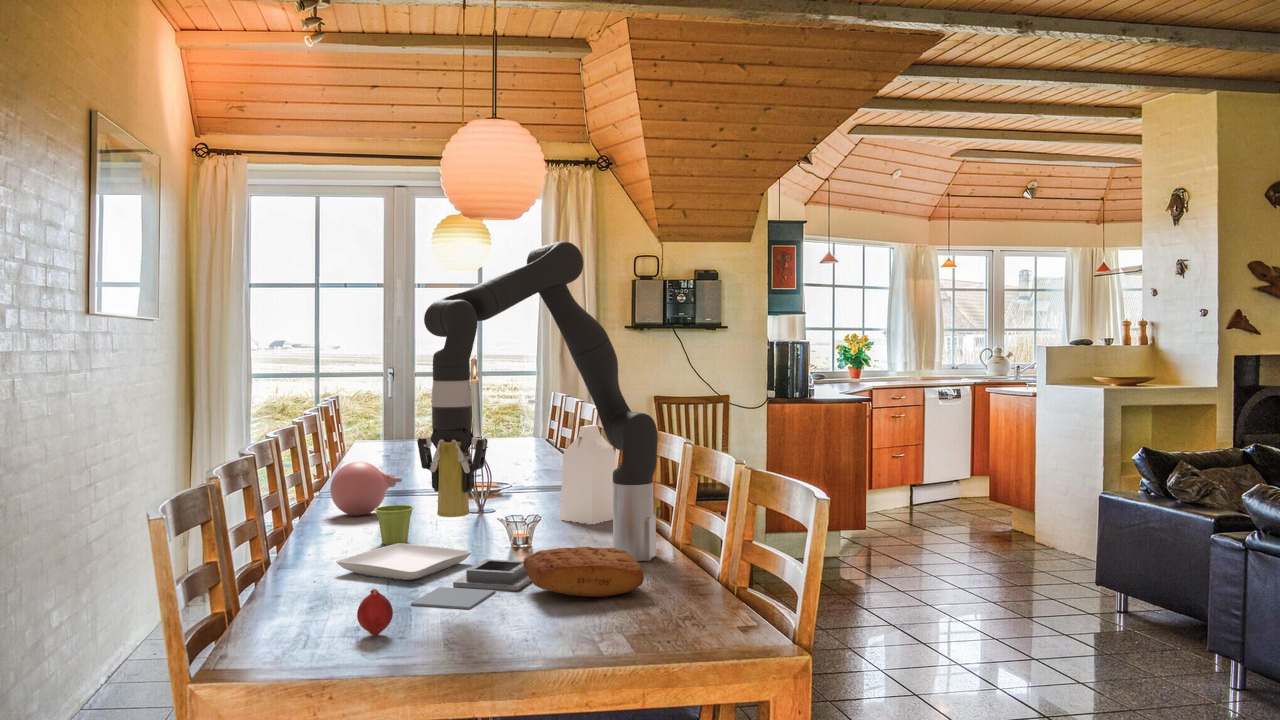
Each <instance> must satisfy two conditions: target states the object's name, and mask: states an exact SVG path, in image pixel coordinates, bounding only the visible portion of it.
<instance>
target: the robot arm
mask: <svg viewBox="0 0 1280 720" xmlns="http://www.w3.org/2000/svg"><path fill="white" fill-rule="evenodd" d="M583 269H584V257H583V255H582V253H581V251H580V249H579V247H578V246H576V245H575V244H574V243H572V242H569V241H555V242H552V243H548V244H545V245H542V246H538V247H536V248H534V249H532V250H531V251H530V252H529V254H528V256H527V259H526V265H523V266H521V267H518V268H515V269H512V270H510V271H507V272H503V273H500V274H499V275H496V276H493V277H491V278H489V279H487V280H484V281H483V282H480V283H478V284H476V285H474V286H473V287H471V288H469V289H466V290H463V291H461V292H457V293H454V294H451V295H448V296H446V297H445V296H444V297H442V298H440V299H437V300H436V301H434V302H433V303H431V304H430V305H429V306H428V307H427V309H426V310H425V312H424V317H423V321H424V326H425V328H426V330H427V331H428V332H429V333H430V334H432V335H433V336H436V337H438V338H439V337H440V338H445V342H444V346H443V348H442V349H440V350H437V351H436V352H435V353H434V354H433V356H432V388H431V399H430V401H431V427H432V434H431V435H430V436H428V437H427V436H425V437H419V438H418V439H417V440H416V441H417V448H418V453H419V461H420V464H421V468H422V469H424V470H428V471H430V473H431V488H432V489H433V490H434V491H433V492H436V493H438V483H439V447H440V442H456V446H455V447H456V448H458V451H459V452H458V459H459V462H460V463H461V464H462V467H463V469H464V472H465V473H464V493H468V494H469V493H470V492H472V491H473V490H474V488H475V472H476V471H478V470H481V469H483V468H484V466H485V460H486V454H487V447H488V442H489V441H488V438H486V437H483V438H479V437H474V434H473V432H472V428H473V412H472V409H473V405H472V402H473V401H472V398H473V397H472V387H471V365H470V364H471V363H470V360H471V356H472V351H473V348H474V344H475V340H476V335H477V329H478V322H482V321H486V320H489V319H492V318H493V317H496V316H498V315H499V314H501V313H502V312H505V311H506V310H508V309H510V308H512V307H514V306H515V305H517V304H520V302H521V303H522V302H523V301H524V300H526V299H529V298H531V297H532V296H534V295H536V294H537V293H538V295H539V296H540V297H541V299H542V300H543V302H544V304H545V306H546V307H547V309H548V310H549V312H550V314H551V316H552V318H553V320H554V322H555V324H556V326H557V328H558V330H559V332H560V334H561V336H562V338H563V339H564V341H565V344H566V346H567V348H568V352H569V354H570V355H571V358H572V359H573V362H574V364H575V367H576V368H577V370H578V372H579V374H580V376H581V377H582V378H581V379H582V380H583V382H584V385H585V387H586V389H587V390H588V394H589V395H590V396H591V399H592V401H593V404H594V407H595V408H596V411H597V413H598V414H597V415H598V417H599V420H600V424H601V426H602V429H603V432H604V435H605V437H606V439H607V442H608V443H609V445H610V446H611V447H612V448H613V449H616V450H618V451H621V452H622V453H621V455H622V456H621V457H622V458H621V463H620V465H619V466H618V467H616V469H615V470H614V471H613V519H612V540H613V542H612V545H613V547H612V548H616V549H618V550H623V551H626V552H627V553H628V554H630V555H631V556H632V557H633V558H634V559H635V560H636V561H637V562H642V561H645V562H646V561H647V562H648V561H649V562H650V561H651V560H652V559H654V558H655V557H656V556H657V530H656V529H657V527H656V526H657V525H656V523H657V521H656V519H657V517H656V514H655V513H654V474H655V471H656V469H657V461H658V429H657V425H656V423H655V420H654V418H653V417H652V416H650V415H649V414H647V413H644V412H640V411H639V412H638V411H632V410H631V409H630V407H629V405H628V403H627V402H626V400H625V397H624V396H623V393H622V390H621V387H620V384H619V361H618V356H617V354H616V351H615V348H614V345H613V343H612V341H611V339H610V337H609V335H608V333H607V331H606V330H605V328H604V327H603V326H602V324H600V322H598V320H597V319H595V318H594V317H593V316H592V315H591V314H589V312H587V311H586V309H584V308H583V307H582V306H581V305H580V304H579V303H578V302H577V300H576V299H575V298H574V296H573V295H572V293H571V292H570V289H569V287H568V286H567V284H570V283H573V282H574V281H576V280H577V279H578V278H579V277H580V276H581V273H582V272H583ZM457 442H461V447H460V446H459V444H458V443H457ZM432 444H433V446H434V447H435V451H434V455H433V457H432V450H431V448H432ZM472 444H473V449H475V450H474V456H472V454H471V450H470V447H471V445H472ZM464 452H465V453H466V456H464V454H463V453H464Z"/></svg>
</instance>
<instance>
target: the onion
mask: <svg viewBox="0 0 1280 720" xmlns="http://www.w3.org/2000/svg"><path fill="white" fill-rule="evenodd" d="M369 592H370V594H368V595H367V596H366V597H364V598H363V599H362V600H361V602H360V603H359V606H358V608H357V613H356V618H357V619H356V620H357V621H358V623H359V626H360V627H361V628H363V629H364V631H366V632H368V633H370V635H371V636H374V637H376V636H378V635H380V634H381V633H382V632H383V631H385V630H386V629H387V628H388V627H389V625H390V623H391V622H392V619H393V615H394V614H393V613H394V611H393V607H392V604H391V601H390V599H388V598H387V597H386V596H385V595H383V594H382V593H381V592H380V591H378V589H377V588H372V589H371V590H370V591H369Z"/></svg>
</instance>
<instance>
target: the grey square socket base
mask: <svg viewBox="0 0 1280 720" xmlns="http://www.w3.org/2000/svg"><path fill="white" fill-rule="evenodd" d="M523 561H524V560H523ZM523 561H522V560H503V559H487V558H486V559H484V560H483V561H481V562H479V563H477V564H476V565H473V566H472V567H470V568H468V569H466V572H465V574H464V575H463V576H461V577H459V578H457V579H456V580H454V581H453V582H452V584H453V585H452V588H464V589H481V590H495V591H496V590H497V591H498V590H499V591H512V592H513V591H515V592H518V591H520V590H522V589H523V588H524V587H526V586H527V585H529V584H531V583H532V581H531V580H530V578H529V576H528V574H527V572H526V570H525V568H524V565H523Z"/></svg>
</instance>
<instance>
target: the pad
mask: <svg viewBox="0 0 1280 720" xmlns="http://www.w3.org/2000/svg"><path fill="white" fill-rule="evenodd" d="M495 593H496V590H494V589H478V588H462V587H447V586H446V587H445V586H444V587H443V586H439V587H437V588H435V589H433V590H432V591H430V592H428V593H426V594H425V595H422V596H421V597H419V598H418V599H415V600H414V601H412V602H411V603H410V606H418V607H433V608H443V609H446V608H448V609H461V610H462V609H463V610H471V609H472V608H474V607H475V606H477V605H478V604H480V603H482V602H483V601H485V600H486V599H488V598H489V597H490V596H492V595H493V594H495Z"/></svg>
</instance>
